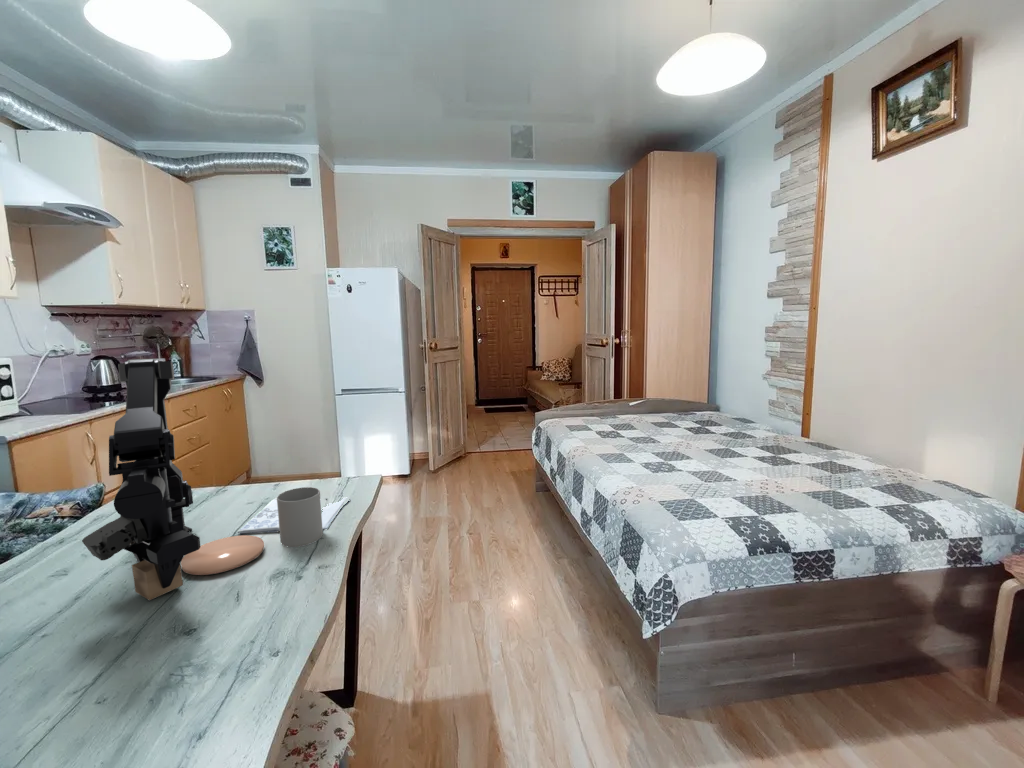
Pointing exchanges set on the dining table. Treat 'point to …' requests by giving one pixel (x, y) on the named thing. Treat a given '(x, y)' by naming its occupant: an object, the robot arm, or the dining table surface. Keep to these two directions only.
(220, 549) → the salmon pink disc
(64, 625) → the dining table surface
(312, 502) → the cup
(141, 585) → the walnut block
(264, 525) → the patterned cloth
